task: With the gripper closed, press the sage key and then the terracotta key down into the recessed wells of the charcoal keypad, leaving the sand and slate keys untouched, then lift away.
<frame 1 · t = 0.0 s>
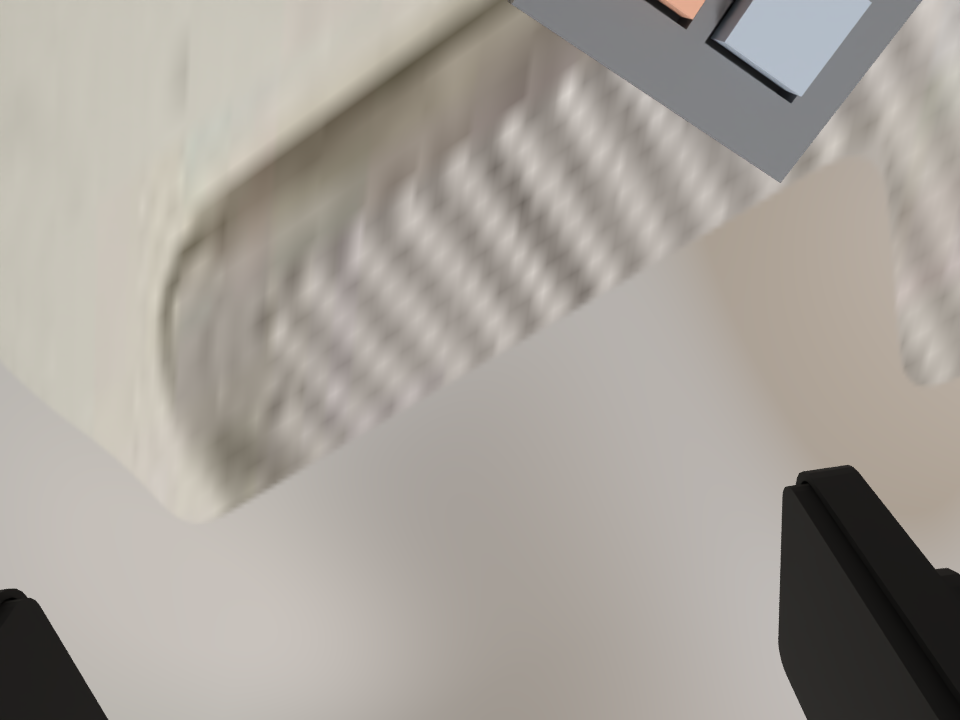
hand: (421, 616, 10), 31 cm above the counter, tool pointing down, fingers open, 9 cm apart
slate key: (788, 20, 32), point 3 cm above the counter, slide at 0.0 cm
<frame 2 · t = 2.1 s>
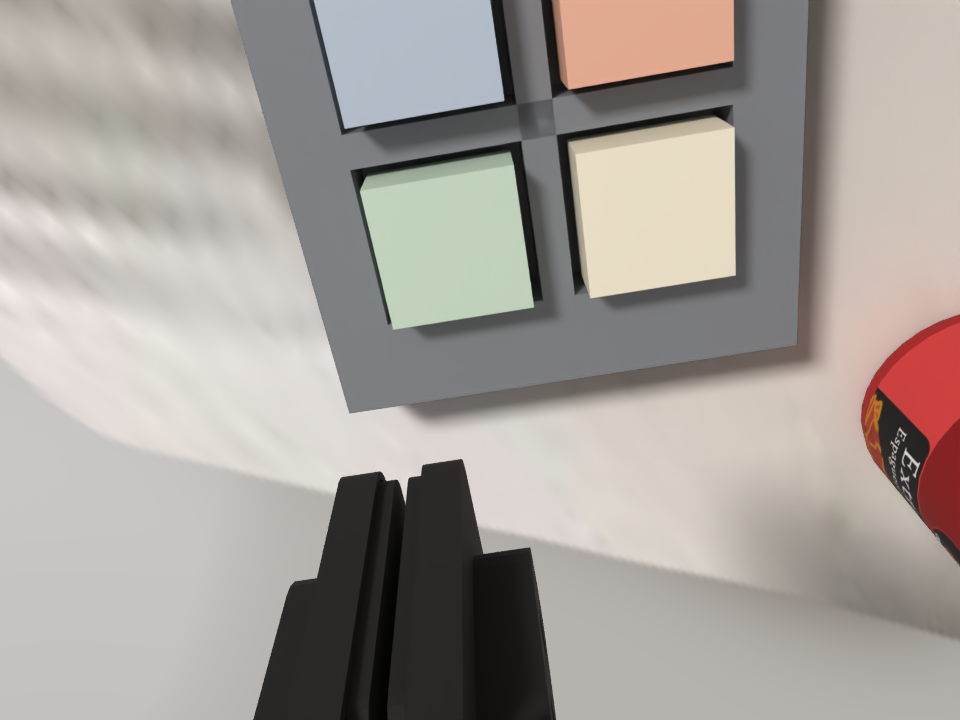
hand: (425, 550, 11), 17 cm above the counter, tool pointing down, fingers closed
sand key: (650, 207, 22), point 3 cm above the counter, slide at 0.0 cm
canned food: (954, 391, 29), on the counter
slate key: (409, 24, 20), point 3 cm above the counter, slide at 0.0 cm
keypad: (528, 102, 24), on the counter
sage key: (450, 240, 23), point 3 cm above the counter, slide at 0.0 cm
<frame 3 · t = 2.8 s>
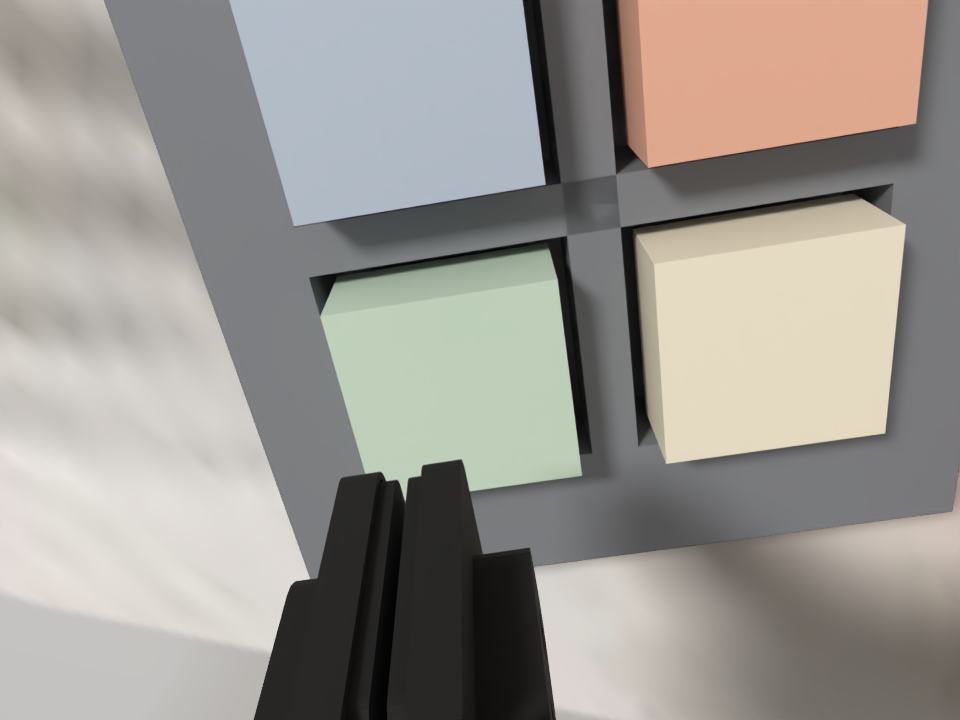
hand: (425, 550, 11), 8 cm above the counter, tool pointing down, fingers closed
sand key: (758, 330, 15), point 3 cm above the counter, slide at 0.0 cm
slate key: (396, 64, 13), point 3 cm above the counter, slide at 0.0 cm
keypad: (571, 167, 17), on the counter
sage key: (459, 375, 15), point 3 cm above the counter, slide at 0.0 cm
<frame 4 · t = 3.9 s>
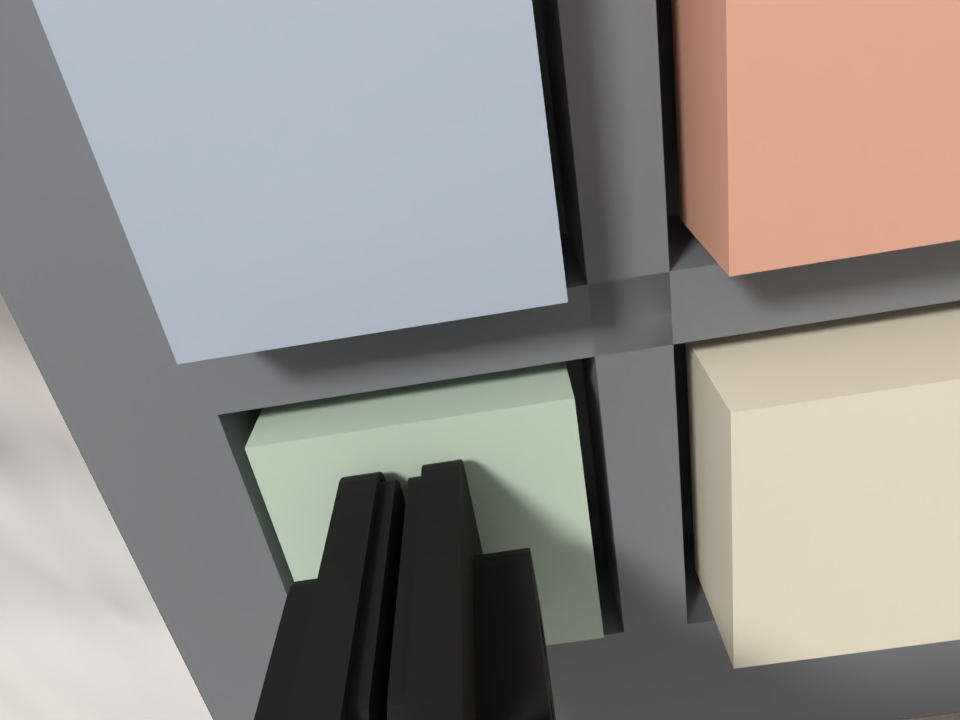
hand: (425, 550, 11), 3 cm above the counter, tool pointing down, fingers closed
sand key: (865, 482, 10), point 3 cm above the counter, slide at 0.0 cm
slate key: (333, 113, 8), point 3 cm above the counter, slide at 0.0 cm
terracotta key: (908, 11, 8), point 3 cm above the counter, slide at 0.0 cm
keypad: (594, 238, 12), on the counter
sage key: (440, 505, 12), point 2 cm above the counter, slide at 0.8 cm, touching gripper
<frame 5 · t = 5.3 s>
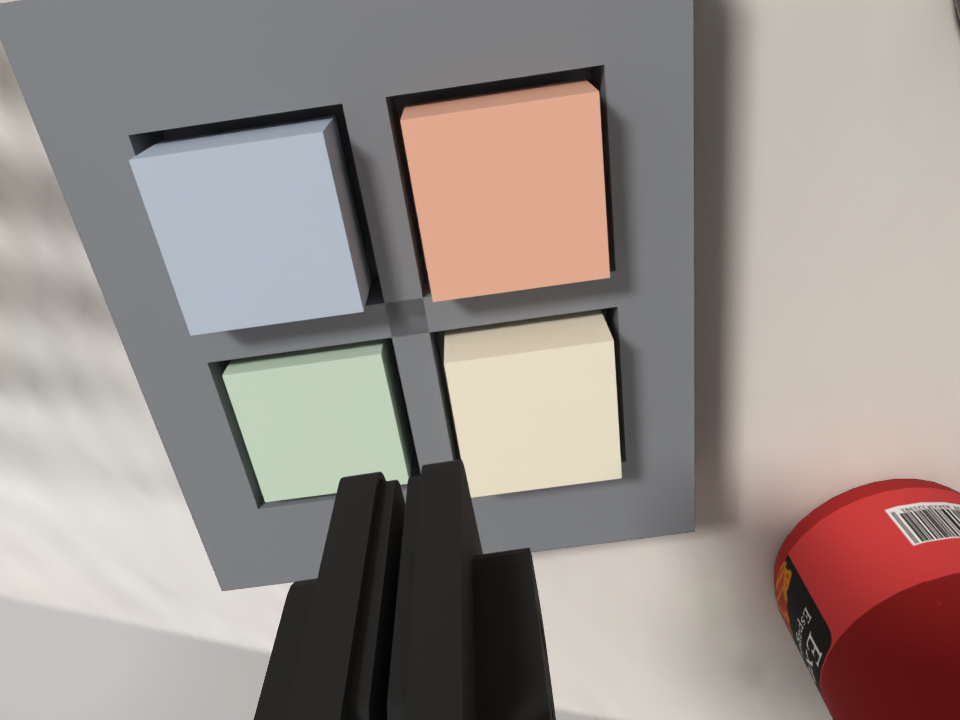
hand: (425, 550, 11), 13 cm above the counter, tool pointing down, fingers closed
sand key: (533, 404, 21), point 3 cm above the counter, slide at 0.0 cm
canned food: (870, 551, 28), on the counter
slate key: (262, 226, 18), point 3 cm above the counter, slide at 0.0 cm
terracotta key: (507, 191, 18), point 3 cm above the counter, slide at 0.0 cm
keypad: (412, 275, 22), on the counter
sage key: (325, 413, 22), point 2 cm above the counter, slide at 1.0 cm
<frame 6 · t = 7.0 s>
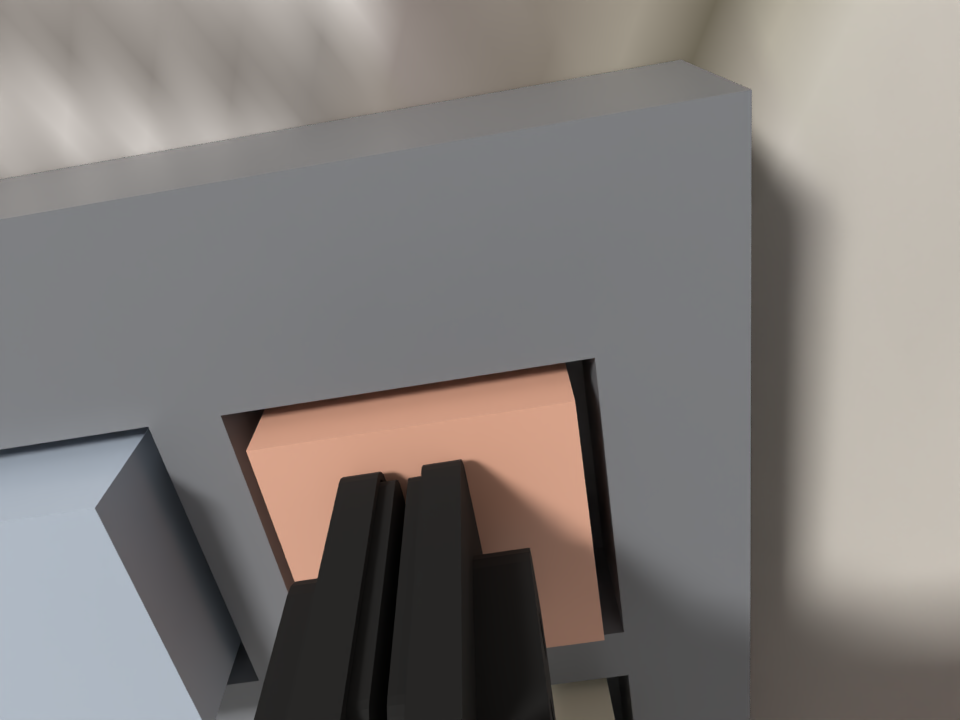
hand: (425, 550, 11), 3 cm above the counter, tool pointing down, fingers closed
slate key: (42, 599, 11), point 3 cm above the counter, slide at 0.0 cm
terracotta key: (441, 508, 12), point 2 cm above the counter, slide at 0.8 cm, touching gripper
keypad: (326, 569, 15), on the counter
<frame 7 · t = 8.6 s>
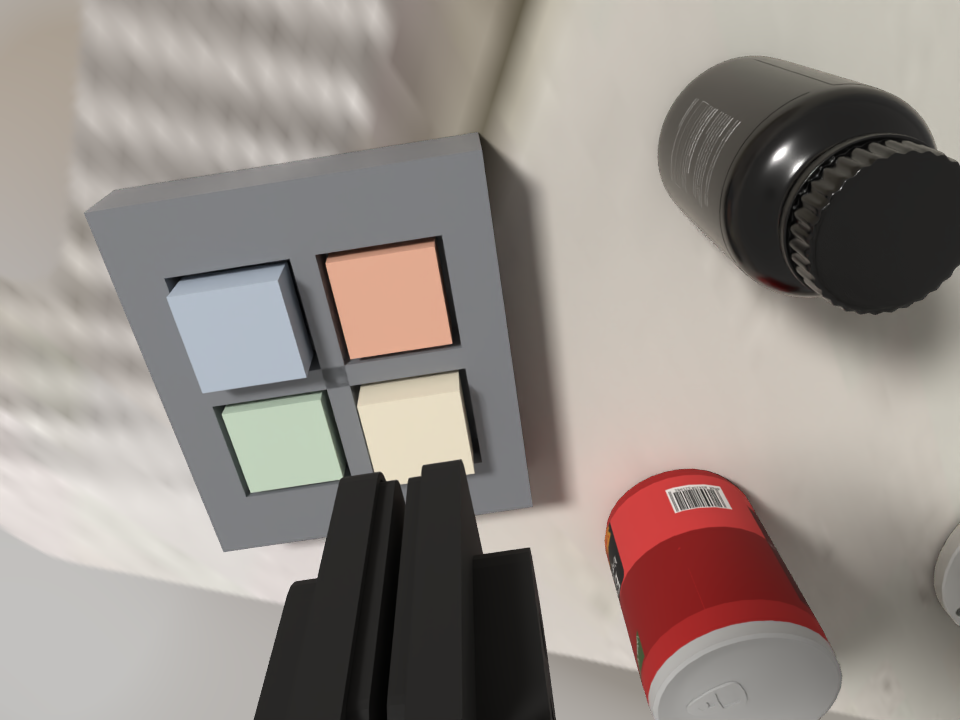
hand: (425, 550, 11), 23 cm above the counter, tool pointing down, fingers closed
sand key: (418, 427, 33), point 3 cm above the counter, slide at 0.0 cm
canned food: (673, 519, 41), on the counter
slate key: (244, 327, 30), point 3 cm above the counter, slide at 0.0 cm
terracotta key: (392, 294, 31), point 2 cm above the counter, slide at 1.0 cm
supplement bottle: (735, 139, 31), on the counter
keypad: (343, 345, 35), on the counter
sage key: (288, 435, 34), point 2 cm above the counter, slide at 1.0 cm
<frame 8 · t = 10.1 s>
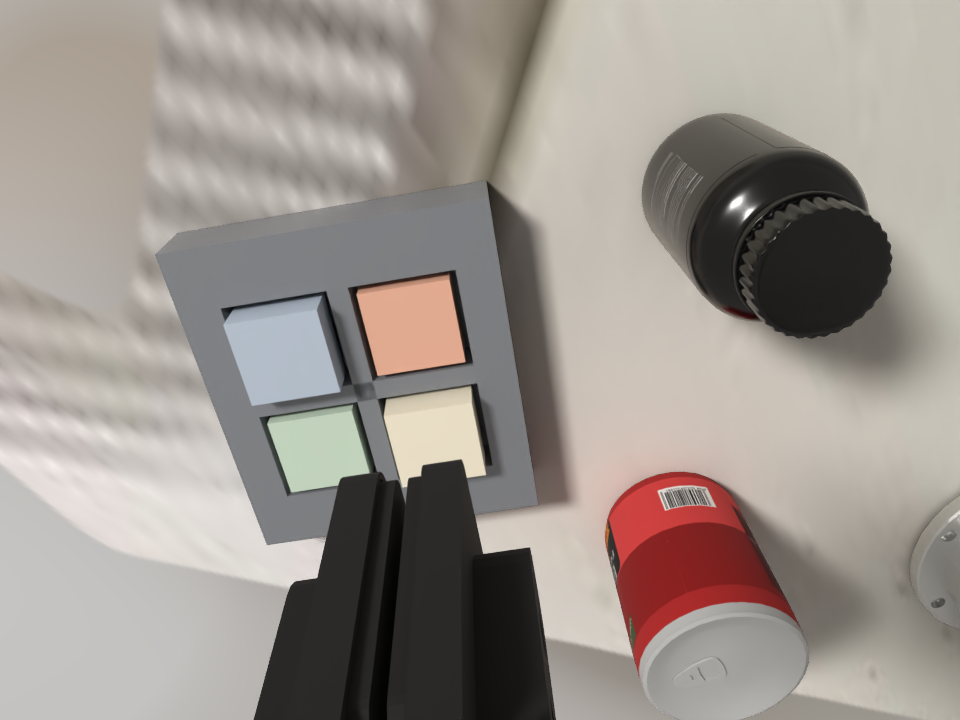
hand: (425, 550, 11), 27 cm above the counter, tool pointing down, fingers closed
sand key: (436, 435, 38), point 3 cm above the counter, slide at 0.0 cm
canned food: (667, 517, 45), on the counter
slate key: (287, 349, 36), point 3 cm above the counter, slide at 0.0 cm
terracotta key: (413, 320, 36), point 2 cm above the counter, slide at 1.0 cm
supplement bottle: (710, 183, 36), on the counter
keypad: (371, 363, 40), on the counter
sage key: (323, 441, 39), point 2 cm above the counter, slide at 1.0 cm
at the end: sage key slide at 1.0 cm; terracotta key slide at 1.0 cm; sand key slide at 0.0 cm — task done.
